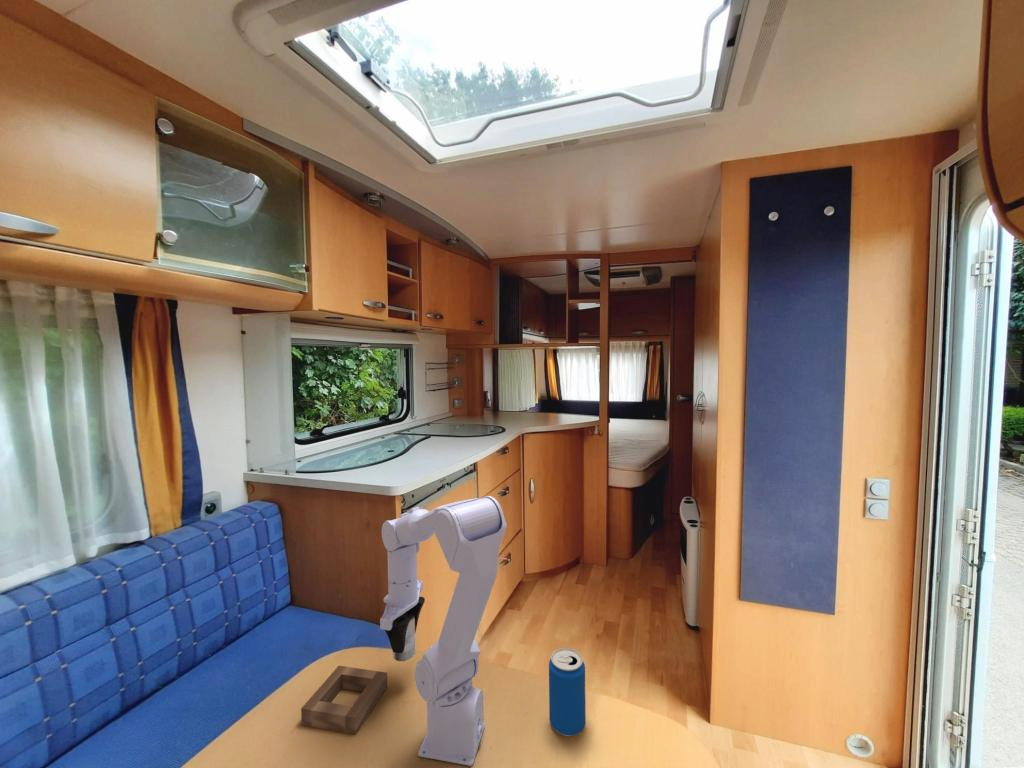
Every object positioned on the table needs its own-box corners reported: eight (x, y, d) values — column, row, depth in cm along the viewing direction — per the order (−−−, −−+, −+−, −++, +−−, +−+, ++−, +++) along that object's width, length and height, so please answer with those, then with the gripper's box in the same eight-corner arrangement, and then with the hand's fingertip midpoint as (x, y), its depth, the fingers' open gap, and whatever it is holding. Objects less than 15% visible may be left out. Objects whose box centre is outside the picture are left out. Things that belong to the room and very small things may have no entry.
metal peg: (419, 647, 83) (418, 614, 83) (409, 662, 79) (408, 627, 79) (399, 645, 84) (398, 612, 84) (388, 659, 80) (388, 624, 80)
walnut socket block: (387, 687, 82) (387, 672, 82) (356, 734, 71) (355, 717, 71) (339, 679, 84) (338, 665, 84) (301, 724, 73) (301, 708, 73)
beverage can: (585, 742, 69) (584, 673, 68) (547, 736, 70) (546, 668, 70) (586, 711, 75) (585, 648, 75) (551, 706, 76) (550, 644, 76)
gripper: (401, 559, 89) (402, 619, 90) (364, 594, 75) (366, 665, 75) (431, 561, 88) (432, 623, 88) (399, 598, 74) (400, 671, 74)
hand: (404, 643), depth 82 cm, fingers closed on metal peg, 4 cm apart
